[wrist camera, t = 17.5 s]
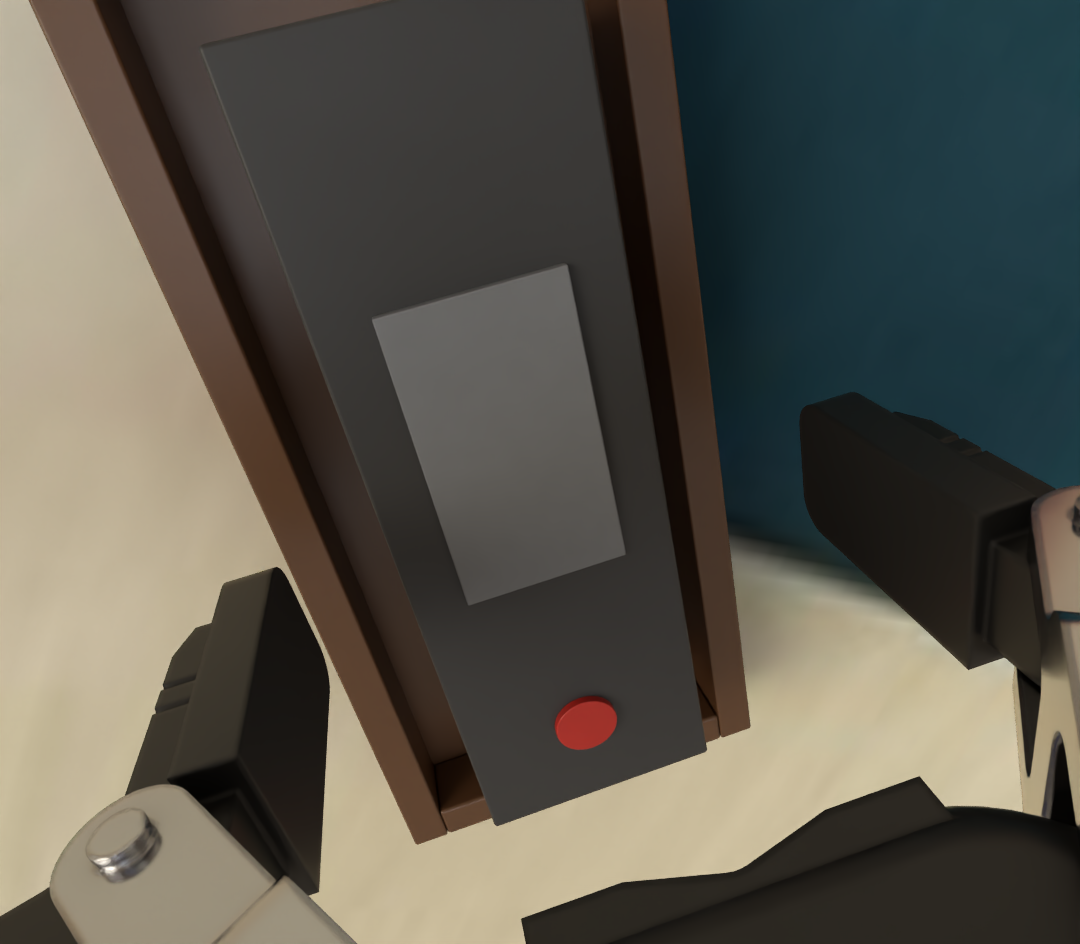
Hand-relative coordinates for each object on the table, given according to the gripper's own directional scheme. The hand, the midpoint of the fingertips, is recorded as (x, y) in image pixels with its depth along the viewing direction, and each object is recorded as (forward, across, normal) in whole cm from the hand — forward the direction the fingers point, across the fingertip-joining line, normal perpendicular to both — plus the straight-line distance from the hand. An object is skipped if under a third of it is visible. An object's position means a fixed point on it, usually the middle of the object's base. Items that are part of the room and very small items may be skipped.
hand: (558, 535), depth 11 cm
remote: (+5, 0, 0) cm, 5 cm away
